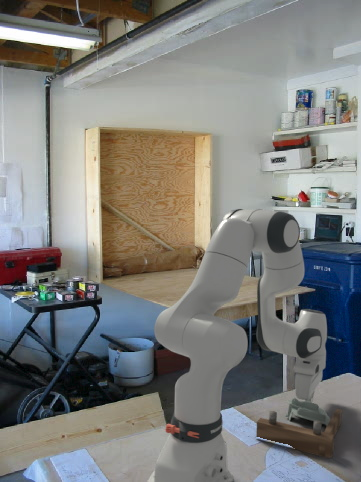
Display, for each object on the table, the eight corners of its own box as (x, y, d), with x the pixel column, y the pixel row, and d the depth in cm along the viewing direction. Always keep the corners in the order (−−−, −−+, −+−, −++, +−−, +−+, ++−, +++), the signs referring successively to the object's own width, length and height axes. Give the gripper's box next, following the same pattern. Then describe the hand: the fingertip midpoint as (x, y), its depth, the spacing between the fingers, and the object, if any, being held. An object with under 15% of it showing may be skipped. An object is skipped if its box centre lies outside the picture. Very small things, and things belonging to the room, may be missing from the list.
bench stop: (330, 458, 128) (332, 428, 127) (256, 439, 138) (257, 411, 137) (346, 423, 148) (347, 397, 147) (279, 409, 157) (280, 384, 156)
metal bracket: (296, 411, 143) (284, 390, 158) (289, 430, 143) (278, 408, 158) (343, 425, 143) (327, 403, 158) (337, 444, 144) (321, 420, 159)
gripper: (308, 349, 167) (307, 390, 168) (292, 368, 148) (290, 413, 150) (328, 353, 164) (326, 393, 165) (313, 372, 146) (311, 417, 147)
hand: (309, 403), depth 157 cm, fingers closed
